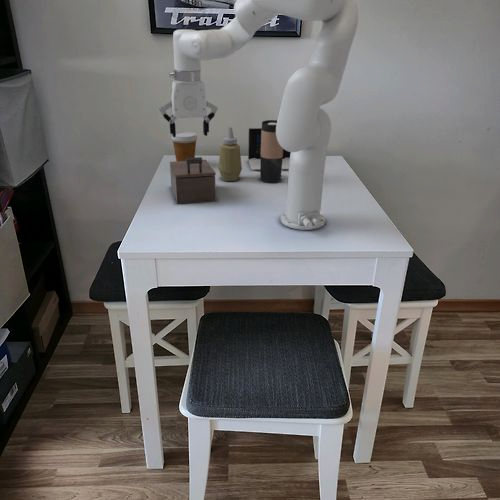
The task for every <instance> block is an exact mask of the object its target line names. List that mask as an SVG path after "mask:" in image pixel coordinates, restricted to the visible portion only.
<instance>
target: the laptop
mask: <svg viewBox="0 0 500 500" xmlns="http://www.w3.org/2000/svg"><path fill="white" fill-rule="evenodd" d="M261 132H262V127H249V128H248V142H247V143H248V146H247V147H248V148H247V159H248V160H247V162H248V165H249V166H250V169H251V171H261ZM290 154H291V152H288V151H286V150H284V149H283V159H282V171H289V161H290Z"/></svg>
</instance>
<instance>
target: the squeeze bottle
mask: <svg viewBox="0 0 500 500" xmlns="http://www.w3.org/2000/svg"><path fill="white" fill-rule="evenodd" d="M222 142H223V143H222V144H221V145H220V149H219V161H218V172H219V174H220V177H221V180H223V181H225V182H235V181H238V180H239V178H240V175H241V172H242V170H243V168H242V158H241V157H242V156H241V147H240V145H239V144H238V138H237V137H235V136H234V131H233V127H230V126H229V127H228V128H227V133H226V137H223V138H222Z"/></svg>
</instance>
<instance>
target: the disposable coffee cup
mask: <svg viewBox="0 0 500 500" xmlns="http://www.w3.org/2000/svg"><path fill="white" fill-rule="evenodd" d="M171 135H172V134H171ZM170 138H171V140H172V143H173V144H172V145H173V149H174V155H175V162H176V161H186V158H195V157H196V149H197V148H196V146H197V139H198V136H197V133H196V132H193V131H176V137H173V135H172V136H171V137H170Z"/></svg>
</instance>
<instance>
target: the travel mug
mask: <svg viewBox="0 0 500 500" xmlns="http://www.w3.org/2000/svg"><path fill="white" fill-rule="evenodd" d="M277 120H278V119H276V120H275V119H265V120H263V121H262V122H261V128H262V132H261V170H260V181H261V182H263V183H267V184H275V183H280V182H281V181H282V180H281V179H282V171H283V170H282V159H283V148H282V147H281V146H280V145H279V143H278V141H277V137H276V125H277Z"/></svg>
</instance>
